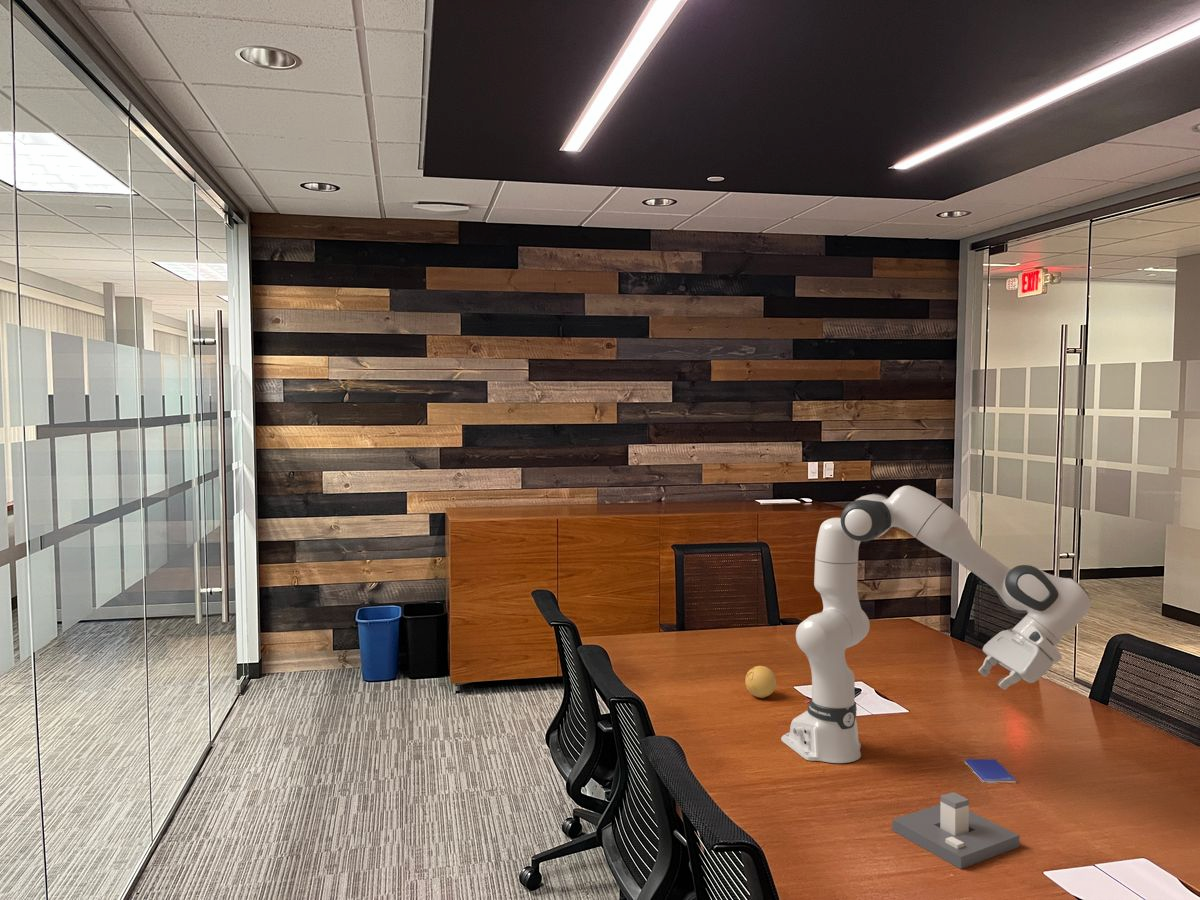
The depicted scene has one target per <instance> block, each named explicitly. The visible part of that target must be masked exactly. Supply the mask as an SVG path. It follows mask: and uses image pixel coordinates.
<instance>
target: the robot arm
mask: <svg viewBox="0 0 1200 900" xmlns="http://www.w3.org/2000/svg"><path fill="white" fill-rule="evenodd" d="M892 528H899V529H901V530H904V531H905V532H906V533H908V534H910V535H911V536H912V537H913V538H916V540H917V541H919V542H921V543H923V545H925V546H927V547H929V548H931V549H932V550H934V551H936V552H937V553H940V554H942V555H943V556H946V557H948V558H949V559H951V560H952V561H955V562H956V563H959V564H960V565H961V566H963V567H964V568H965V569H967V570H968V571H969V572H970V573H972V574H973V575H975V576H976V577H978V578H979V579H980V580H982V581H983V582H984V583H985V584H986V585H988V586H989V587H991V588H992V590H994V592H995V594H996V595H997V596H998V598H999V600H1000V602H1001V604H1002V605H1004V607H1006V609H1008V610H1010V611H1012V612H1014V613H1017V614H1026V615H1025V616H1024V617H1023V618H1022V619H1021V620H1020V621H1019V622H1018V623H1017V624H1016V625H1015V626H1014V627H1011V628H1010V629H1006V630H1001V631H1000V632H998V633H997V634H996V635H994V636H993V637H991V638H990V640H988V641H987V642H986V643H985V644H984V645H983V647H982V651H983V653H984V654H985V655H986V657H985V659H984V661H983V664H982V665H981V666H980V667H979V668H978V673H979V674H981V675H982V676H984V677H985V678H986V677H987V676H988V675H989V674H991V669H992V668H993V667H995V666H996V665H997V664H998V665H1000V666H1002V667H1003V668H1005V669H1006V670H1008V671H1010V672H1009V675H1007V676H1006V677H1004V678H1003V677H1001V678H1000V679H999V680H998V681H997V683H996V684H997V686H998V687H1000V688H1001V689H1002V690H1004V691H1005V690H1007V689H1009V687H1010V686H1012V685H1014V684H1017V683H1019V682H1020V681H1021V680H1024V681H1025V682H1027V683H1029V684H1032V683H1036V682H1037V681H1039V680H1040V679H1041V678H1042V677H1043V676H1044V675H1045V674H1046V673H1047V672H1048V671H1049V670H1050V669H1051V668H1052V667H1053V664H1054V663H1055V664H1056V663H1058V662H1060V661H1061V660H1062V658H1063V655H1062V654H1061V653H1060V651H1059V649H1058V647H1057V646H1058V644H1060V642H1061V640H1062V638H1063V636H1065V634H1067V633H1068V632H1070V631H1072V630H1073V629H1075V627H1077V625H1078V624H1079V623H1080V622H1081V621H1082V620H1083V619H1084V618H1085V616H1086V615H1087V614H1088V612H1089V611H1090V609H1091V606H1092V598H1091V597H1090V595H1089V593H1088V592H1087V590H1086V589H1085V588H1084V587H1083V586H1082V585H1081V584H1080V583H1079V582H1077V581H1076V580H1074V579H1072V578H1071V577H1068V578H1067V577H1060V576H1057V575H1054V574H1050V573H1047V572H1045V571H1043V570H1041V569H1039V568H1038V567H1036V566H1032V565H1030V564H1021V565H1016V566H1015V567H1013V568H1010V567H1008V566H1007V565H1005V564H1004V563H1003V562H1001V561H1000V560H998V559H997V558H996V557H994V556H993V555H991V554H990V553H989V552H988V551H986V550H985V549H983V548H982V547H981V546H980V545H979V544H978V542H977V541H975V539H974V537H973V535H972V533H971V531H970V529H969V527H968V525H967V522H966V521H965V520H964V518H963V517H961V516H960V515H959V513H957V511H956V510H954V509H952V508H951V507H950V506H949V505H947V504H946V503H944V502H943V501H941V500H939V499H938V498H936V497H935V496H933V495H931V494H929V493H927V492H925V491H923V490H922V489H919V488H917V487H915V486H913V485H912V486H911V485H903V486H900V487H898V488H897V489H895V490H894V491H893V492H892V493H891V494H890V496H887V495H885V494H882V493H872V494H866V495H861V496H860V497H859V498H856V499H855V500H854V501H851V502H849V503H848V504H847V505H846V506H845V508H844V509H843V510H842V512H841V516H840V517H832V518H828V519H826V520H824V521H823V522H822V523H821V524H820V526H819V530H818V534H817V538H816V545H815V556H814V578H813V585H814V588H815V590H816V592H817V593H819V595H820V598H821V600H822V607H823V609H822V611H821V612H817V613H815V614H812V615H809V616H808V617H807V618H806V619H804V620H803V621H802V622H800V623H799V624H798V626H797V628H796V630H795V641H796V644H797V646H798V647H799V649H800V650H801V651H802V652H803V654H805V655H806V657H807V660H808V663H809V666H810V667H809V668H810V671H811V697H810V698H807V699H806V698H805V702H804V704H808V705H807V710H805V711H803V712H802V713H801V714H799V715H797V716H795V717H794V718H793V719H792V721H790V722H791V723H790V727H789V732H786V733H785V734H783V735H781V740H780V741H781V742H782V743H784V744H785V745H786V746H788V747H789V748H790V749H792V750H793V752H795V753H796V754H798V755H799V756H800V757H802V759H805V761H811V762H812V761H813V762H814V761H815V762H816V761H817V762H825V763H831V764H846V763H852V762H855V761H857V760H859V759H860V758H861V757H862V753H861V748H862V745H861V742H860V741H859V732H858V723H857V722H858V721H857V719H856V718H857V711H858V709H857V702H856V701H855V696H856V695H855V694H856V693H855V692H856V691H855V689H856V687H855V684H856V683H855V682H856V681H855V680H856V679H855V677H856V676H855V674H854V671H853V670H852V669H851V668H850V667H848V664H847V661H846V657H845V656H846V655H845V654H846V649H848V648H851V647H853V646H855V645H858V644H859V643H860V642H861V641H862V640H863V639H865V637H866V636H867V635H868V634H869V631H870V628H871V627H870V620H869V617H868V615H867V613H865V611H864V610H863V609H862V606H861V602H860V599H859V592H858V573H859V572H858V571H859V570H858V568H859V550H860V548H859V547H860V544H861V542H869V541H872V540H875V539H878V538H879V537H881V536H884V535H885V533H887V532H889V531H890V530H891V529H892Z"/></svg>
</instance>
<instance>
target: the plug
mask: <svg viewBox="0 0 1200 900" xmlns="http://www.w3.org/2000/svg"><path fill="white" fill-rule="evenodd" d="M940 804H941V805H940V828H941V829H943V830H945V831H947V832H949V833H951V834H953V835H954V836H956V837H957V836H960V835H963V834H966V833H969V811H970V809H969V808H970V799H968V798H966V797H965V796H962V795H960V794H958V793H957V792H950V793H946V794H942V795H940Z"/></svg>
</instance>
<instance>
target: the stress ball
mask: <svg viewBox="0 0 1200 900" xmlns="http://www.w3.org/2000/svg"><path fill="white" fill-rule="evenodd" d="M744 681H745V682H744V683H745V687H746V689H747V691H748V692H749V693H750V694H751V695H753V696H754V697H756V698H758V699H765V698H766V697H769V696H771V694H773V693H774V691H775V689H776V688H777V677H776V675H775V673H774V672H773V670H771V669H770V668H768V667H767V666H763V665H757V666H753V667H751V668H750V669H749V670H748V671H747V672H746V675H745V679H744Z"/></svg>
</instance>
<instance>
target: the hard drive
mask: <svg viewBox="0 0 1200 900" xmlns="http://www.w3.org/2000/svg"><path fill="white" fill-rule="evenodd" d="M964 764H965V765H968V766H969V767H970V768H971V769H972V770H973V771H972V770H971V769H970V768H969V767H968V766H967V767H968V768H969V769H970V770H971V771H972V773H974V775H975V774H976V775H977V776H978V777H979V778H980V779H981V780H982V781H983V782H987V783H986V784H996V783H995V782H1017V783H1018V781H1017V779H1016V778H1015V777H1014V776H1013V775H1012V774H1011V773H1010V772H1009V771H1008V770H1007V769H1006V768H1005V767H1004V766H1003V765H1002V764H1001V763H1000V762H999V761H998V760H997V759H990V758H988V759H987V758H965V759H964ZM976 775H975V776H976ZM977 776H976V777H977ZM978 777H977V778H978ZM979 778H978V779H979ZM980 779H979V780H980ZM981 780H980V781H981ZM982 781H981V782H982ZM983 782H982V783H983Z"/></svg>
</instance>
